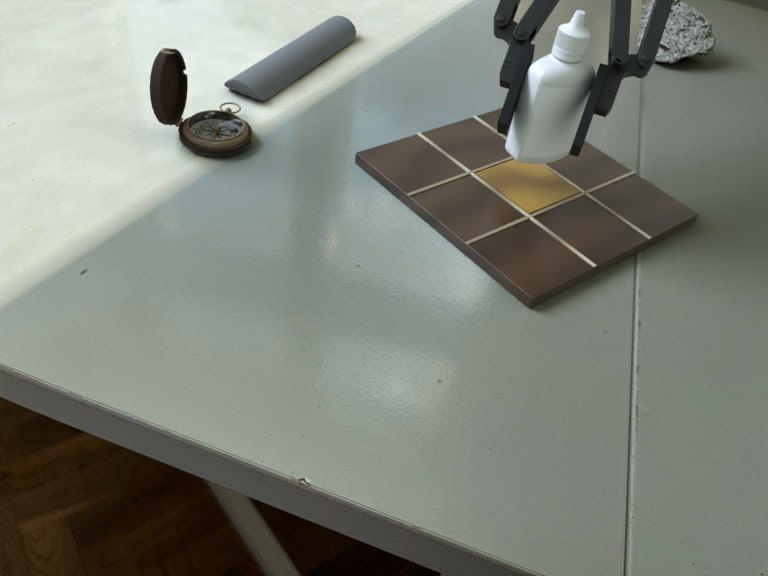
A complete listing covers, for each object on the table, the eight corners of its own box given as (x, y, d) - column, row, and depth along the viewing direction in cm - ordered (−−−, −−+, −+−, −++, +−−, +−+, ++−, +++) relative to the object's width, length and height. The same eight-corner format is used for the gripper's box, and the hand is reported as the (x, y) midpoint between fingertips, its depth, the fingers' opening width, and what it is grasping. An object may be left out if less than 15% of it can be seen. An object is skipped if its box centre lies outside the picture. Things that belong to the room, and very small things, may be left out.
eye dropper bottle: (573, 172, 63) (623, 30, 55) (504, 162, 63) (545, 18, 55) (566, 144, 66) (613, 6, 59) (501, 134, 66) (539, -6, 58)
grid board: (694, 223, 67) (699, 213, 67) (529, 308, 56) (533, 297, 55) (521, 110, 78) (524, 100, 78) (354, 162, 67) (355, 151, 67)
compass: (242, 165, 65) (243, 85, 60) (148, 146, 65) (142, 65, 60) (267, 118, 71) (270, 42, 66) (182, 101, 71) (179, 24, 66)
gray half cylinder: (358, 37, 86) (360, 22, 85) (258, 106, 72) (258, 89, 71) (325, 26, 87) (326, 10, 86) (220, 91, 73) (220, 73, 72)
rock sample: (621, 21, 89) (679, -34, 89) (606, 41, 97) (659, -10, 96) (685, 86, 89) (743, 32, 88) (664, 101, 97) (718, 51, 96)
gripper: (524, -199, 59) (422, 89, 58) (769, -144, 56) (666, 161, 55) (521, -136, 66) (430, 121, 65) (737, -84, 63) (646, 186, 62)
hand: (538, 139), depth 60 cm, fingers closed on eye dropper bottle, 5 cm apart
